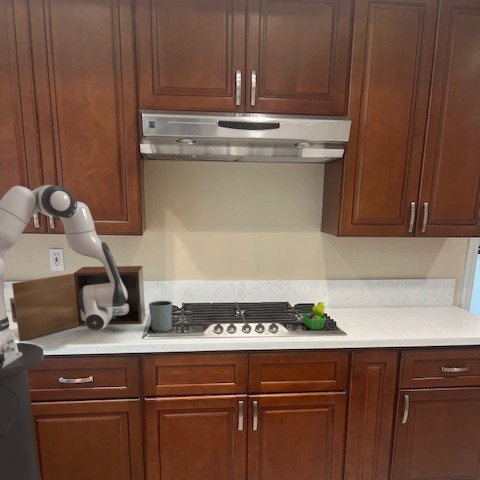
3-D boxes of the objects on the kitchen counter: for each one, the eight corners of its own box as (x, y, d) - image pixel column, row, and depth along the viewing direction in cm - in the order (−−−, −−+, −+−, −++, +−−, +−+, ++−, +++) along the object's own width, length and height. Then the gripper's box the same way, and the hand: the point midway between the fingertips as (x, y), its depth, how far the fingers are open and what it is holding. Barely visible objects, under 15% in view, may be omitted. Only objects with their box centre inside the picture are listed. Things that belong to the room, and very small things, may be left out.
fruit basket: (300, 324, 216) (301, 300, 213) (318, 322, 218) (319, 299, 215) (310, 330, 205) (311, 305, 202) (328, 329, 207) (330, 304, 204)
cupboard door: (11, 338, 193) (3, 281, 187) (69, 323, 216) (64, 272, 210) (20, 341, 190) (13, 283, 183) (79, 325, 212) (74, 273, 206)
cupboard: (141, 323, 216) (138, 271, 210) (78, 325, 213) (73, 272, 207) (145, 314, 233) (142, 265, 227) (87, 315, 231) (82, 266, 224)
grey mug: (177, 329, 208) (176, 302, 205) (159, 333, 201) (158, 306, 197) (163, 324, 214) (161, 299, 211) (145, 329, 207) (143, 303, 204)
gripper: (126, 304, 196) (130, 297, 209) (76, 306, 194) (84, 299, 207) (127, 319, 197) (131, 311, 211) (78, 320, 195) (85, 312, 209)
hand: (107, 305), depth 209 cm, fingers closed on cup, 7 cm apart
